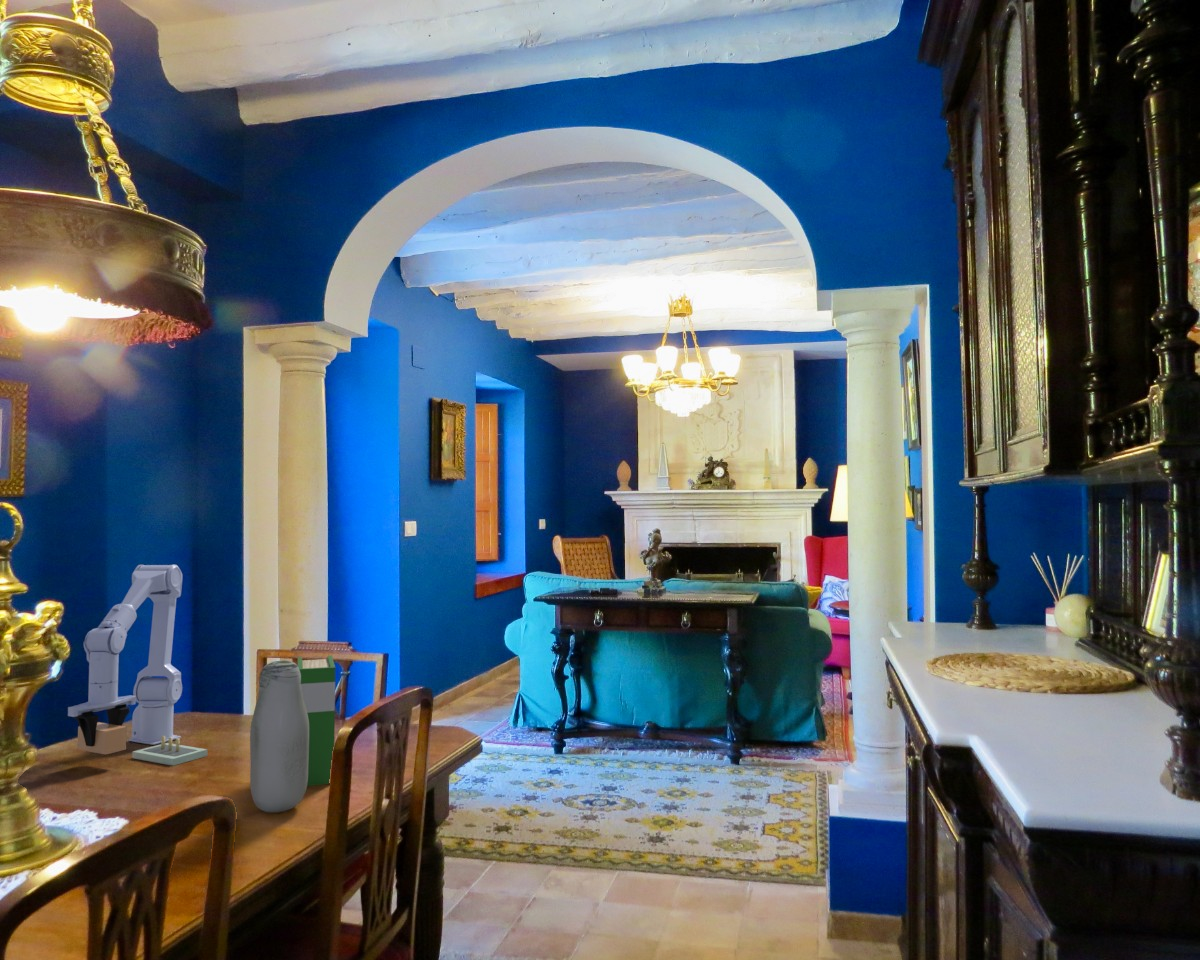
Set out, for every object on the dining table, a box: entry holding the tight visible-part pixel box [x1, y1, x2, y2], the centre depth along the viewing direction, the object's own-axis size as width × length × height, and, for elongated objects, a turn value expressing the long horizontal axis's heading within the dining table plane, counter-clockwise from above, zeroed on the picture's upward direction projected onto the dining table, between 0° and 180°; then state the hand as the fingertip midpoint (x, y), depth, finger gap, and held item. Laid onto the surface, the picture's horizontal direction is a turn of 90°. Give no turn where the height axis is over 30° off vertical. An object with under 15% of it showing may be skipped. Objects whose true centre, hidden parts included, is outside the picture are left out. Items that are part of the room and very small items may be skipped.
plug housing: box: [77, 721, 127, 756], centre depth 191 cm, size 10×5×5 cm, turn 64°
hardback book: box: [297, 655, 336, 787], centre depth 186 cm, size 18×7×24 cm, turn 20°
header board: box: [131, 736, 208, 766], centre depth 199 cm, size 14×9×4 cm, turn 64°
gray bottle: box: [249, 660, 309, 814], centre depth 162 cm, size 10×10×28 cm
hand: (101, 742), depth 191 cm, fingers closed on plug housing, 5 cm apart
